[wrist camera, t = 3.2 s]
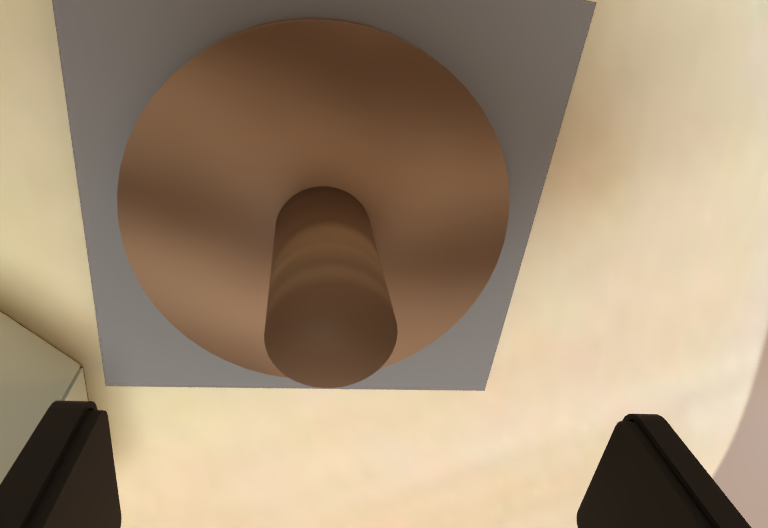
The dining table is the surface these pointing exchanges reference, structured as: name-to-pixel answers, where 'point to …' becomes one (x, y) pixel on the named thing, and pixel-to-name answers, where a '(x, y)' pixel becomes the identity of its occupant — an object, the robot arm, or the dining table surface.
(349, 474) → the dining table surface
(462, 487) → the dining table surface
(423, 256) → the lid
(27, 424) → the bowl
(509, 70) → the mat
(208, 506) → the dining table surface
